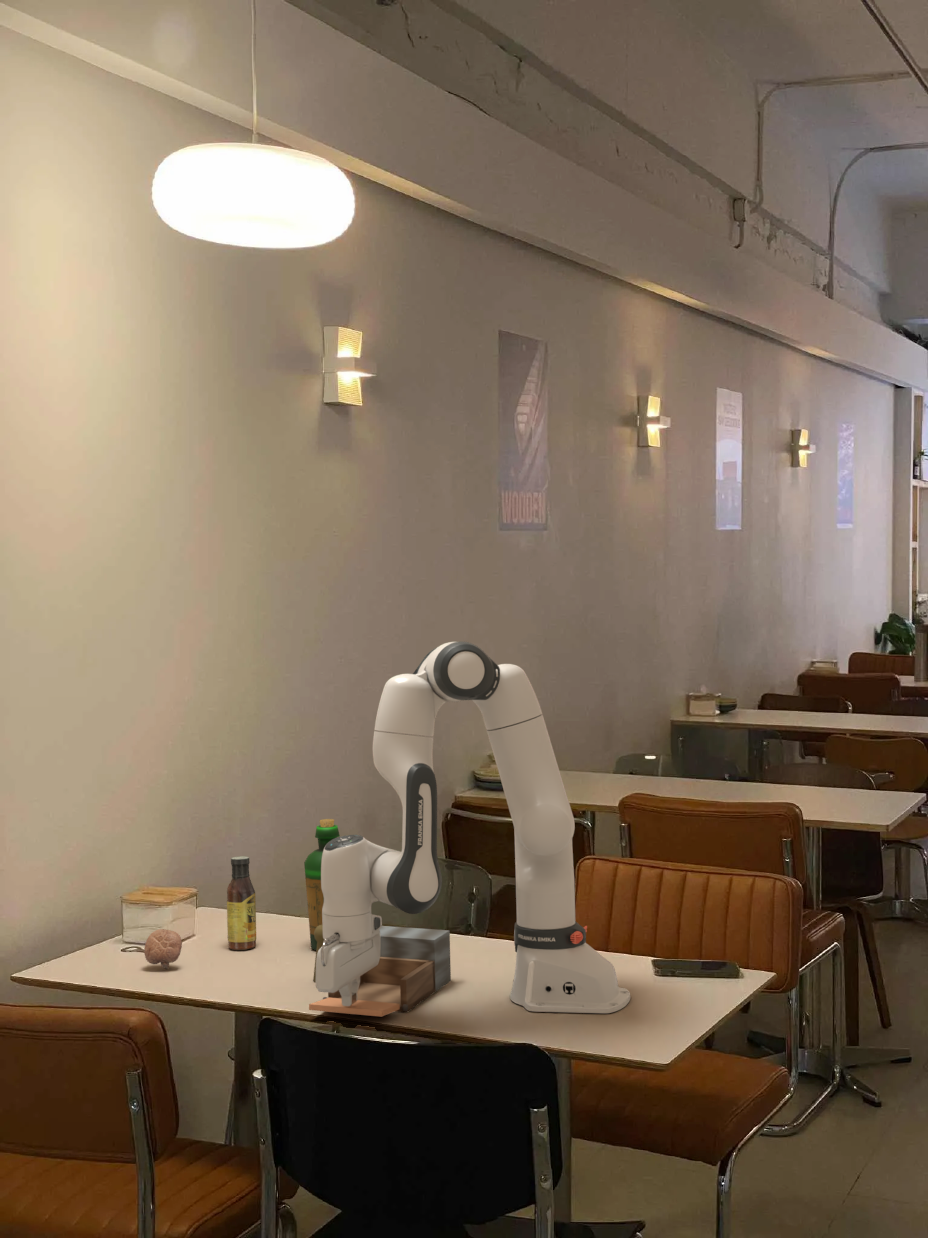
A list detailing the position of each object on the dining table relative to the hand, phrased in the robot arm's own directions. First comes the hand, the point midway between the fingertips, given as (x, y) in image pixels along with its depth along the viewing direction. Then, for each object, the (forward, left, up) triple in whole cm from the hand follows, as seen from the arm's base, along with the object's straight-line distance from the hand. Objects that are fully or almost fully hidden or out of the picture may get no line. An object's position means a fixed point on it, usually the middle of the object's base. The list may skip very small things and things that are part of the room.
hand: (349, 1004), depth 250 cm
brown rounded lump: (+53, -22, -4) cm, 58 cm away
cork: (+16, -24, -4) cm, 29 cm away
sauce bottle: (+46, -42, -4) cm, 63 cm away
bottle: (+27, -47, -4) cm, 55 cm away
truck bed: (0, -18, -3) cm, 19 cm away
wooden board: (0, -7, -2) cm, 7 cm away
